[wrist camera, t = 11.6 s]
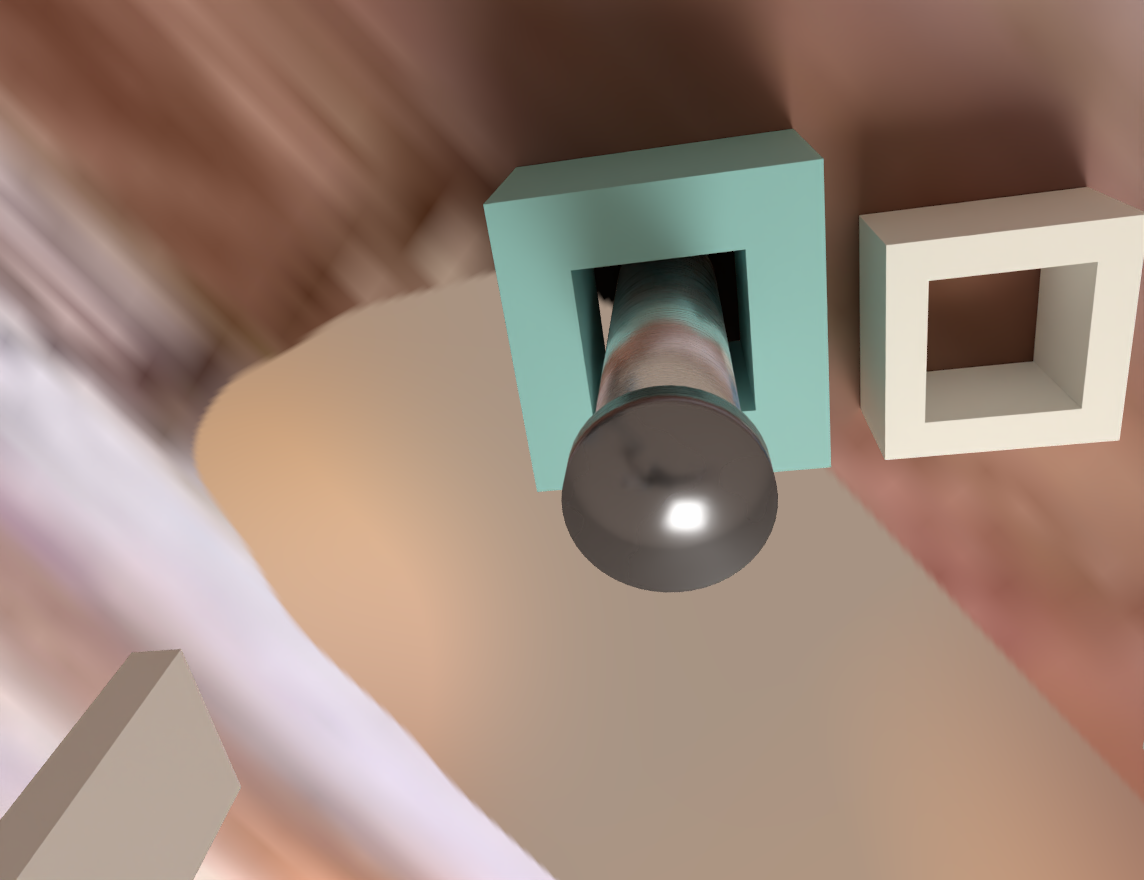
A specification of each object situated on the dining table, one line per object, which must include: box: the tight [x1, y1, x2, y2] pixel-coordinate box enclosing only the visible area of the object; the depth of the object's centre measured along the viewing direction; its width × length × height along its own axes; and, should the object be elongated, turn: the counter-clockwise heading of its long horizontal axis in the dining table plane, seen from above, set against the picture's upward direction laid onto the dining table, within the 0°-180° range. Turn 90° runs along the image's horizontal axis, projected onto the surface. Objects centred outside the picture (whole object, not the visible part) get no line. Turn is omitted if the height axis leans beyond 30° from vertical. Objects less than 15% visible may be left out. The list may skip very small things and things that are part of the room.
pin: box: [562, 254, 778, 592], centre depth 24 cm, size 4×4×15 cm
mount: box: [859, 187, 1144, 460], centre depth 28 cm, size 7×7×4 cm
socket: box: [483, 129, 831, 492], centre depth 28 cm, size 9×9×6 cm
